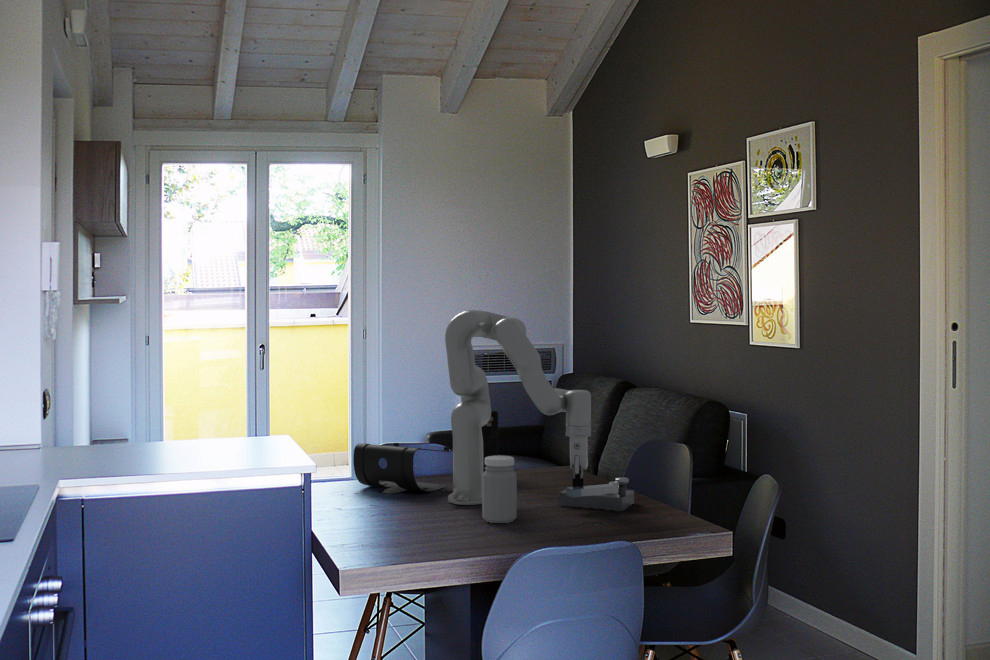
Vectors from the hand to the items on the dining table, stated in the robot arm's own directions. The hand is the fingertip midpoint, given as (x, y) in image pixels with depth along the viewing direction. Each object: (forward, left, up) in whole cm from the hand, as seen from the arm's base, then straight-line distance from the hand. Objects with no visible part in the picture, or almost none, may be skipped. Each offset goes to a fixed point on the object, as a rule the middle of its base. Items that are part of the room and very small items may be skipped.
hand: (577, 491), depth 272 cm
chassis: (+8, -3, -5) cm, 10 cm away
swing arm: (+1, -6, 0) cm, 6 cm away
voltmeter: (+35, +50, -5) cm, 61 cm away
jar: (-25, +15, -5) cm, 30 cm away
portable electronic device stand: (+5, +64, -6) cm, 65 cm away
